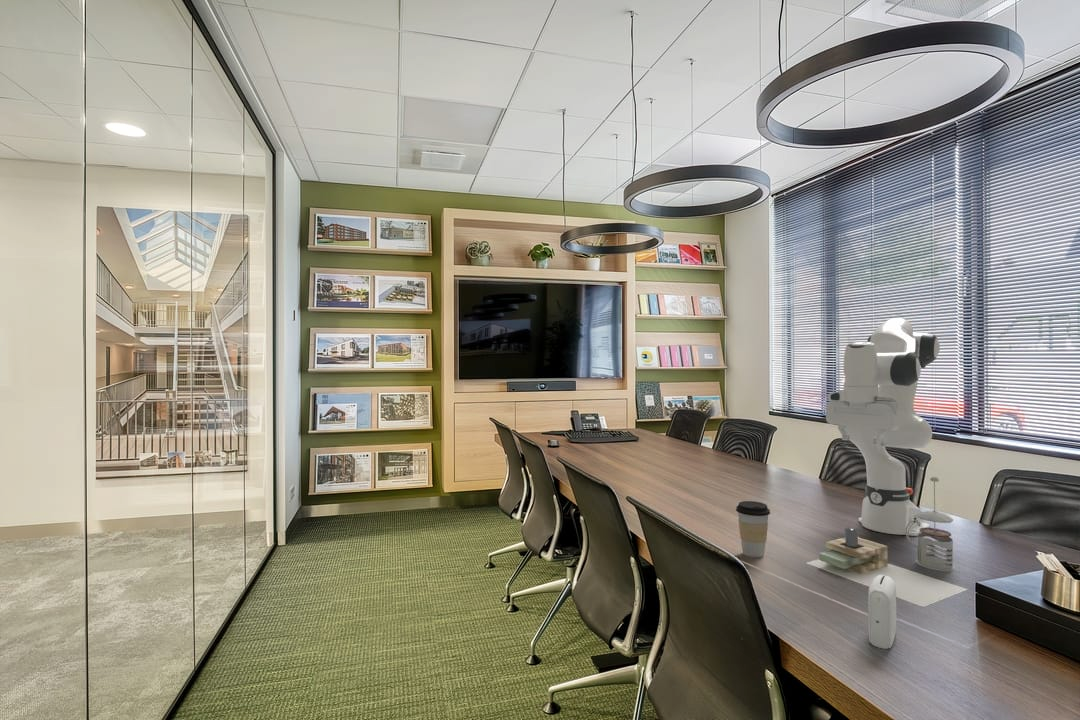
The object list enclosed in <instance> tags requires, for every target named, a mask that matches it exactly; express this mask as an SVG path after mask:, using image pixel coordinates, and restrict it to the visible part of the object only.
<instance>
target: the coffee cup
mask: <svg viewBox="0 0 1080 720" xmlns="http://www.w3.org/2000/svg"><path fill="white" fill-rule="evenodd" d="M735 511H736V512H737V513H738V528H739V537H740V540H741V549H742V555H745V556H746V557H750V558H763V557H765V551H766V542H767V538H768V537H767V536H768V527H769V526H768V525H769V522H768V520H769V515H770V514H771V512H770V509H769V508H768V505H767V504H766V503H763V502H760V501H752V500H751V501H750V500H745V501H744V500H743V501H739V502H738V505H737V506H736V509H735Z"/></svg>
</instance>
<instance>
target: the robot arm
mask: <svg viewBox="0 0 1080 720" xmlns="http://www.w3.org/2000/svg"><path fill="white" fill-rule="evenodd" d="M940 348H941V346H940V342H939V340H938V337H937V336H936V335H935V334H933V333H929V332H928V333H926V332H922V333H920V332H914V328H913V326H912V324H911V323H910V322H909V321H908V320H907V319H904V318H903V317H902V318H901V317H893V318H890V319H888V320H886V321H884V322H882V323H881V324H880V325H879V326H877V328H876V329H875V330H874V331H873V333H872V334H871V335H870V336H869V337H867V341H856V342H850V343H848V344H847V345H845V348H844V349H845V350H844V355H843V356H844V357H843V374H844V382H843V389H841V390H838V391H834V392H832V393H831V392H830V393H828V394H827V400H828V402H827V403H826V406H825V407H826V408H825V420H826V422H827V424H829V425H837V429H838V431H839V433H840V434H841V440H843V441H850V442H851V443H853V444H854V445H855V446H856V448H858V450H859V451H860V453H861V455H862V456H863V460H864V462H865V469H866V484H865V488H864V489H865V495H866V496H865V497H864V498H863V500H862V504H861V505H862V507H861V517H858V522H859V523H861V525H862V527H864V528H866V529H868V530H872V531H873V532H879V533H883V534H891V535H905V536H906V527H907V525H908V524H909V523H910V522H911V521H913V522H912V523H910V524H909V526H908V528H907V536H908V529H909V527H910V525H911V524H913V523H914V524H913V525H912V526H911V527H910V530H909V537H910V536H911V537H918V534H919V533H922V532H920V530H919V529H920V528H925V527H926V528H931V525H930V524H929V523H926V522H924V521H922V520H923V519H920V518H919V517H918V516H917V514H919V513H921V512H922V511H921V508H919V507H918V506H917V505H915V504H914V503H913V502H912V501H911V500H910V495H913V493H914V490H913V488H910V487H906V486H907V485H906V481H907V479H906V477H907V475H906V472H907V471H906V467H905V465H904V463H903V462H902V461H900V460H899V459H897V458H896V457H894V456H892V455H890V454H889V452H888V451H887V449H886V447H887V448H888V447H889V448H897V449H898V448H899V449H908V450H909V449H923V448H925V447H926V446H928V445H929V444H930V442H931V441H932V438H933V430H932V426H931V425H930V423H929V422H928V421H927V420H926V419H925V418H923V417H921V415H919V414H918V413H917V412H916V410H915V407H914V403H915V396H916V392H917V389H918V388H917V387H918V381H919V379H920V376H921V370H922V369H925V368H926V367H927V366H928V365H930V364H931V363H933V362H934V361H935V360H936V359H937V357H938V356H939V353H940ZM914 520H918V522H920V526H918V525H919V523H918V525H917V523H915V522H917V521H914Z"/></svg>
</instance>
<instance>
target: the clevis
mask: <svg viewBox="0 0 1080 720" xmlns="http://www.w3.org/2000/svg"><path fill="white" fill-rule="evenodd" d="M825 548H827V549H830V550H825V551H822V552H819V553H818V555H819V557H818V559H819V560H821V561H823V562H826V563H829V564H832V565H834V566H837V567H840V568H843V569H848V570H851V571H854V572H857V573H859V574H863V573H866V572H869V571H873V570H876V569H879V568H882V567H885V566H887V563H888V545H885V544H882V543H880V542H879V543H878V542H875V541H872V540H869V539H864V538H861V537H859V536H858V548H857V549H853V548H850V547H846V546H845V536H843V537H841V538H836V539H833V540H828V541H826V542H825Z"/></svg>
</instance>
